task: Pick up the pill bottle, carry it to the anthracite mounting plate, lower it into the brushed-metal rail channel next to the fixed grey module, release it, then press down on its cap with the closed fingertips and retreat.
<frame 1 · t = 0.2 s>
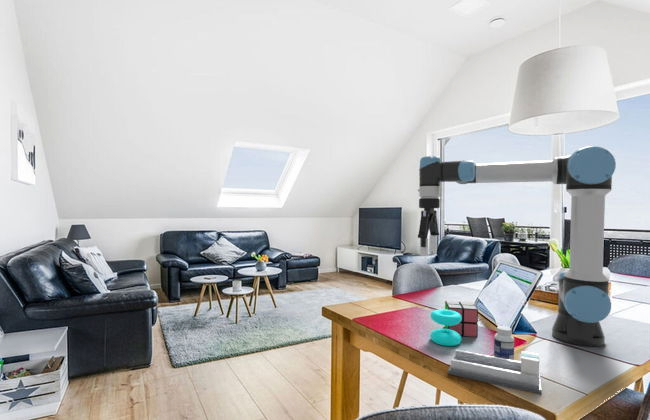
hand: (428, 254, 139), 28 cm above the table, fingers open, 13 cm apart
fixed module: (529, 382, 96), resting on rail plate
rail plate: (493, 375, 100), on the table
donuts: (445, 342, 124), on the table
puzzle cube: (460, 332, 134), on the table
pill bottle: (503, 361, 110), on the table
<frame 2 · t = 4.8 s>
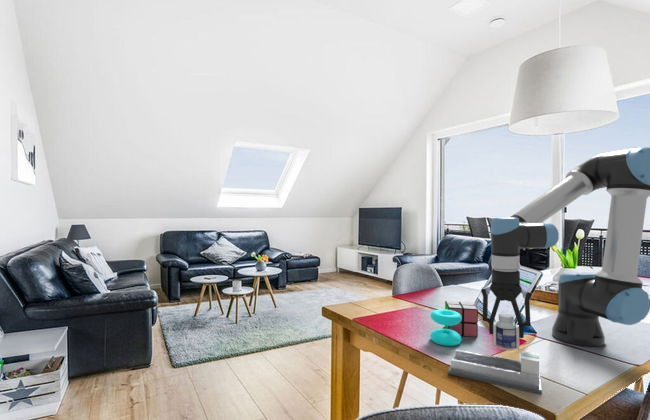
hand: (506, 346, 110), 4 cm above the table, fingers closed on pill bottle, 5 cm apart
pill bottle: (506, 348, 110), point 4 cm above the table, touching gripper
everything else where it was.
when the fingers open (1 cm above the table, at t = 8.5 s): pill bottle stays where it is, resting on rail plate.
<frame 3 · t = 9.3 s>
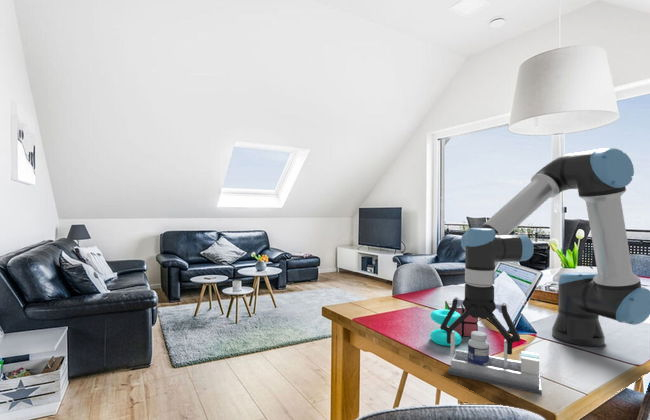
hand: (478, 360, 102), 3 cm above the table, fingers open, 13 cm apart
pill bottle: (478, 368, 102), point 1 cm above the table, touching rail plate
everything else where it was.
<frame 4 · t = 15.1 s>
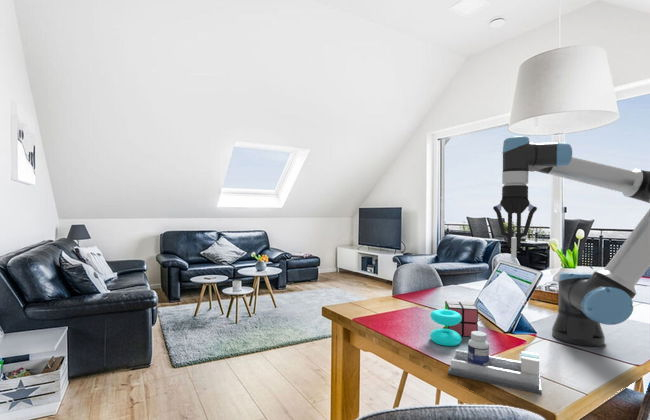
hand: (513, 257, 120), 29 cm above the table, fingers closed
nothing on the table moved.
at the end: pill bottle inside the target area on the rail plate (0.0 cm from its centre), point 0.8 cm above the rail plate's base; pill bottle tilted 0°; the gripper is holding nothing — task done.
